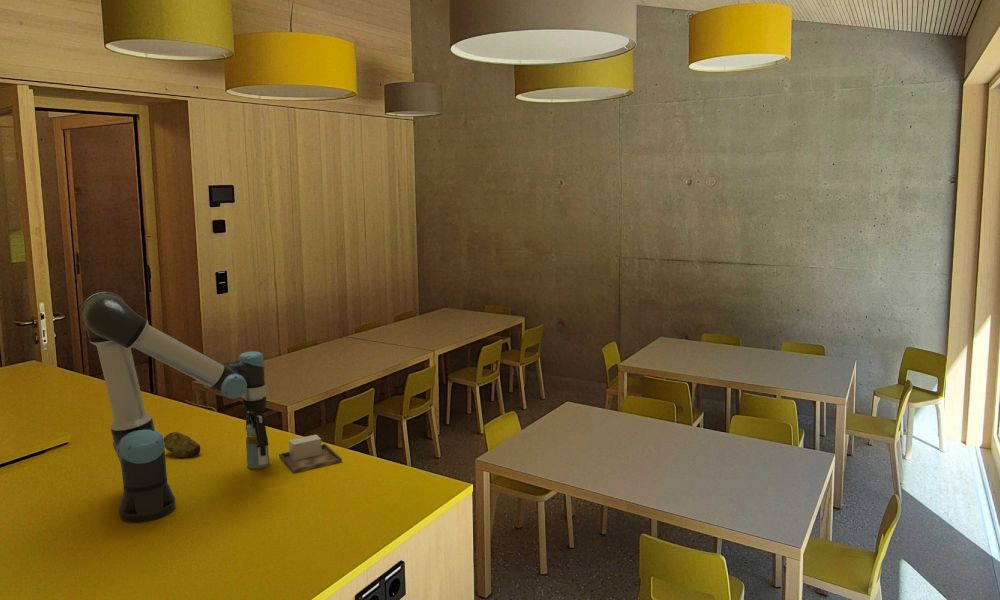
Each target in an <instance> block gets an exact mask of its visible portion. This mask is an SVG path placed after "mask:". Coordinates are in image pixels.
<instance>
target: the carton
mask: <svg viewBox="0 0 1000 600" xmlns="http://www.w3.org/2000/svg"><path fill="white" fill-rule="evenodd" d="M321 445H322V438H321V437H320V436H319V435H318V434H313V435H312V434H311V435H307V436H302V437H298V438H297V437H296V438H292V439H288V447H289V448H288V449H289V451H288V452H290V457H291V458H292V459H293V460H294V461H296V460H300V459H305V458H309V457H314V456H318V455H322V447H321Z"/></svg>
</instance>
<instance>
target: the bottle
mask: <svg viewBox="0 0 1000 600" xmlns="http://www.w3.org/2000/svg"><path fill="white" fill-rule="evenodd" d="M265 427H267V426H266V424H265ZM246 429H247V431H246V439H245V446H246V463H247V469H249V470H252V471H259V470H263V469H266V468H268V467H269V465H270V454H269V445H268V446H267V464H263V465H259V461H258V448H257V447H256V446H257V445H258V441H257V436H256V432H255V428H253V425H252V424H249V425H248V426H247V427H246V426H245V430H246ZM267 439H268V436H267ZM262 443H264V442H262Z"/></svg>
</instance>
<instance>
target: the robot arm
mask: <svg viewBox="0 0 1000 600" xmlns="http://www.w3.org/2000/svg"><path fill="white" fill-rule="evenodd" d="M80 312H81V317H82V319H83V322H84V325H85V330H86V332H87V337H88V341H89V343H90V344H92V345H94V346H96V349H97V354H98V357H99V362H100V364H101V365H100V366H101V369H102V375H103V379H104V383H105V387H106V391H107V394H108V399H109V403H110V407H111V413H112V416H113V421H112V423H111V424H110V425H109V428H110V432H111V436H112V446H113V450H114V452H115V453H116V456H117V457H118V460H119V463H120V466H121V467H120V469H121V475H122V486H123V487H122V488H123V491H122V494H121V500H120V502H119V506H118V517H119V519H120V520H121V521H123V522H128V523H144V522H145V523H146V522H150V521H154V520H158V519H161V518H163V517H165V516H167V515H168V514H169V515H170V513H172V512H173V511H174V510H175V509H176V507H177V503H176V498H175V494H174V492H173V490H172V489H171V487H170V485H169V482H168V475H167V474H168V473H167V461H166V451H165V450H166V448H165V442H164V436H163V435H162V433H161V432H159V431H157V430H156V429H155V424H154V421H153V416H152V415H151V414H149V413H147V412H146V409H145V405H144V401H143V397H142V392H141V387H140V383H139V378H138V374H137V370H136V366H135V360H134V355H133V353H132V348H133V349H136V350H138V351H140V353H141V352H142V354H145V355H147V356H149V357H151V358H153V359H155V360H157V361H158V362H161V363H163V364H165V365H167V366H169V367H170V368H173V369H175V370H177V371H178V372H181V373H182V374H184V375H186V376H189V377H190V378H192V379H194V380H196V381H198V382H200V383H202V385H203V387H204V388H206V389H211V388H212V389H213V390H215V391H217V392H219V393H221V394H222V395H223V396H224V397H226V398H228V399H230V400H231V399H232V400H236V399H240V398H242V410H244V411H246V418H245V430H246V432H247V429H246V427H247V426H248V425H249V424H252V425H253V428H255V432H256V436H257V441H258V445H257V446H256V447H257V448H258V461H259V465H263V464H267V446H268V447H269V441H268V439H267V437H268V435H267V433H268V432H267V428H266V427H267V426H266V427H265V425H266V421H265V420H266V419H265V416H264V415H263V413H262V411H263V410H265V409H266V408H267V397H266V393H267V392H266V389H268V387H267V385H266V379H265V376H266V375H265V362H264V355H263V353H262V352H261V351H254V350H253V351H246V352H242V353H240V354H239V357H238V358H239V359H238V360H232V361H225V362H219V361H216V360H214V359H212V358H211V357H209V356H207V355H205V354H203V353H201V352H200V351H198V350H196V349H194V348H193V347H190V346H188V345H187V344H185V343H183V342H182V341H179V340H178V339H175V338H174V337H172V336H171V335H168V334H167V333H165V332H163V331H162V330H161V331H160V330H159V329H157V328H156V327H153V326H152V325H150V324H149V320H148V319H146V318H145V317H143V316H141V315H139V314H138V313H136V312H135V311H134V310H133V309H132V308H131V307H129V305H128V304H127V303H126V302H125V300H124V299H123V297H121V296H120V295H119V294H116V293H113V292H109V291H101V292H97V293H94V294H92V295H91V296H89V297H87V298H86V300H84V302H83V305H82V307H81V310H80ZM262 442H264V443H262Z"/></svg>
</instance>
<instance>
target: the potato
mask: <svg viewBox="0 0 1000 600" xmlns="http://www.w3.org/2000/svg"><path fill="white" fill-rule="evenodd" d="M163 439H164V442H165V450H167V451H168V452H170V453H171V454H173V455H174V456H176V457H177V458H190V457H195V456H196V455H198V454H199V453H200V452H201V445H200V444H199V443H198V442H197V441H195V440H194V439H192V438H191V437H190V436H188V435H186V434H183V433H181V432H178V431H173V432H170V433H168V434H166V435H165V436H163Z"/></svg>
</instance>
